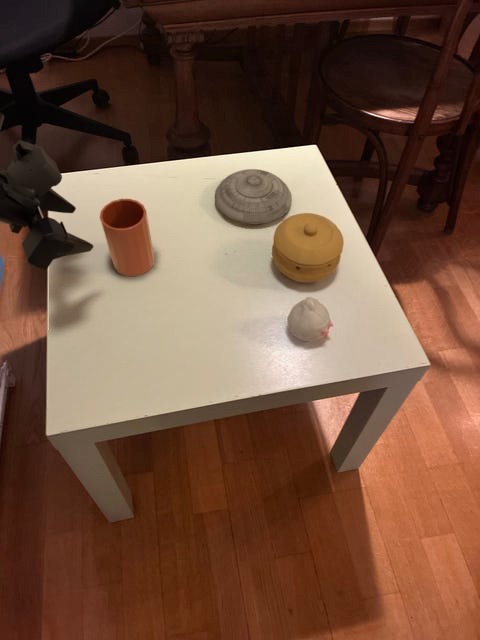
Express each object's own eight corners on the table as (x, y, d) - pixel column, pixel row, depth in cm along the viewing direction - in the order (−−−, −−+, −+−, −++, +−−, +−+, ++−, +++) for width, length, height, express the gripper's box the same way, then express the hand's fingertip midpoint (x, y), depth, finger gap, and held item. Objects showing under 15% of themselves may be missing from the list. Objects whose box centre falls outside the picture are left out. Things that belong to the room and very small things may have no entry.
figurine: (318, 357, 75) (326, 328, 69) (278, 337, 77) (283, 306, 71) (335, 327, 78) (345, 297, 72) (297, 309, 80) (304, 277, 74)
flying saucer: (252, 168, 101) (253, 145, 97) (306, 203, 95) (310, 181, 91) (198, 200, 95) (197, 178, 91) (253, 241, 89) (254, 218, 85)
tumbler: (111, 276, 83) (97, 230, 74) (115, 246, 88) (102, 198, 79) (153, 276, 84) (144, 229, 75) (155, 245, 88) (147, 198, 79)
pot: (343, 253, 88) (355, 211, 80) (326, 300, 81) (337, 260, 73) (282, 235, 90) (288, 193, 82) (260, 280, 84) (264, 239, 76)
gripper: (25, 187, 55) (133, 228, 67) (-7, 104, 65) (92, 153, 77) (-19, 257, 59) (90, 284, 71) (-43, 169, 69) (56, 206, 81)
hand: (82, 228), depth 75 cm, fingers open, 9 cm apart
